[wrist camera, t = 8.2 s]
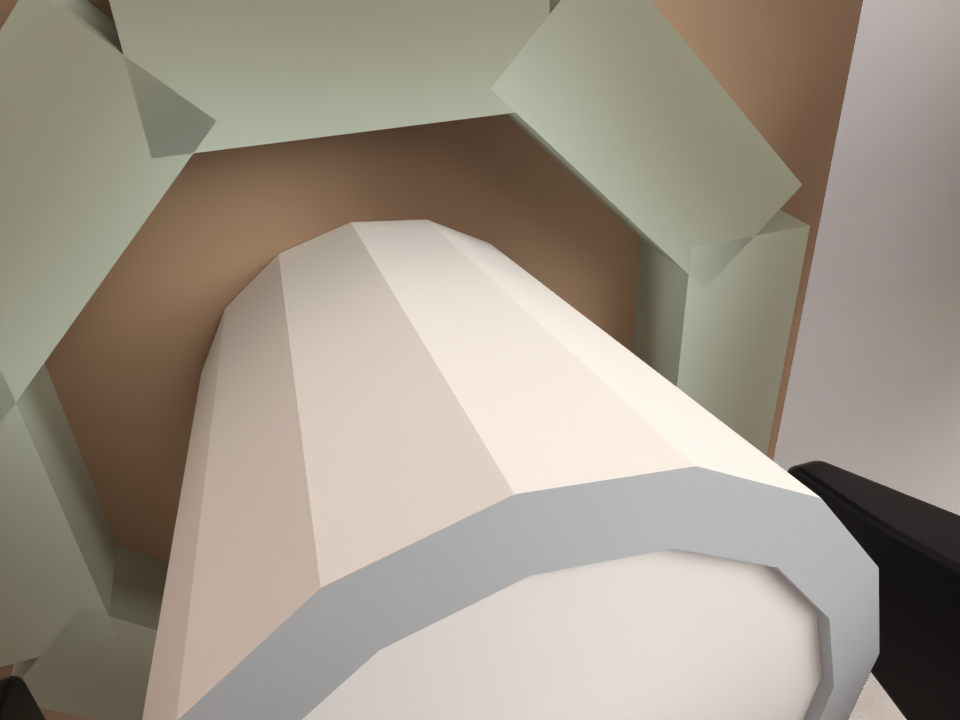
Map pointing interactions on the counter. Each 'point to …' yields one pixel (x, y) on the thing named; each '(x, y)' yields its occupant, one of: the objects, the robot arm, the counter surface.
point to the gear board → (362, 198)
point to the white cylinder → (483, 515)
